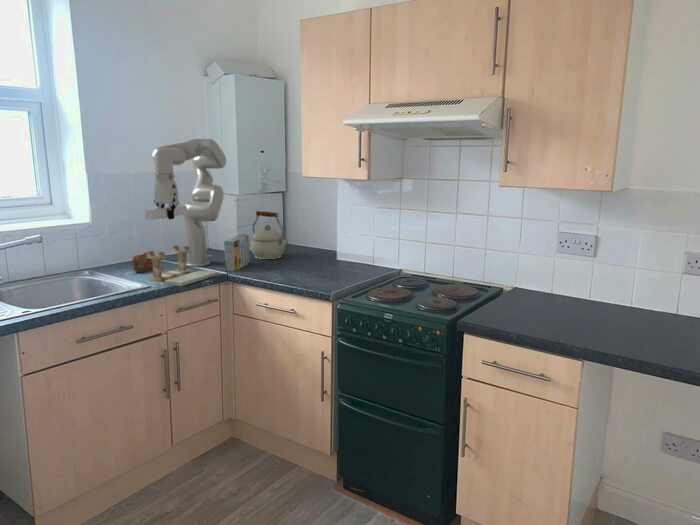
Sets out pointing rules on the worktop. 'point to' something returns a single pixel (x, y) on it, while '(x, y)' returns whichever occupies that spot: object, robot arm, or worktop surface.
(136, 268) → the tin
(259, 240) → the kettle
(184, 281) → the board
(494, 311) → the worktop surface
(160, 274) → the rack
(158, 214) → the rail
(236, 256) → the snack box
